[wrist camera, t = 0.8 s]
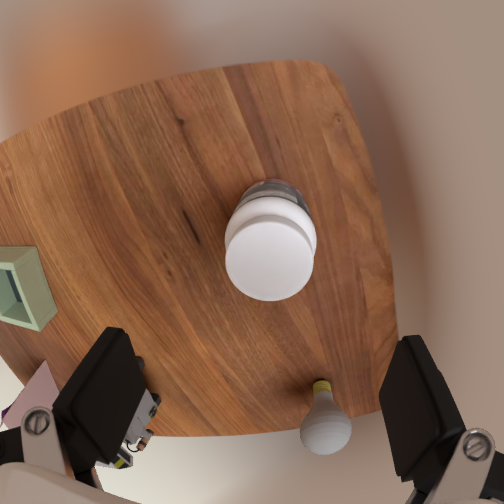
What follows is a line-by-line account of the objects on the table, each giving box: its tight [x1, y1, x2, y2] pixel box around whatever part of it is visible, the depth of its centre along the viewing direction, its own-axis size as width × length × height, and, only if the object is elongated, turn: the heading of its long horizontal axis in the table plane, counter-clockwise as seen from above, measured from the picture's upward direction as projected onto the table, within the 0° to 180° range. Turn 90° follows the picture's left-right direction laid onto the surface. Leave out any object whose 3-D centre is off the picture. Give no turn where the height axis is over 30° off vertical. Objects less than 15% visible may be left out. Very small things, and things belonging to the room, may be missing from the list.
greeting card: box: [0, 359, 60, 429], centre depth 34 cm, size 11×7×15 cm, turn 133°
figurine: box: [95, 357, 161, 469], centre depth 29 cm, size 9×12×15 cm
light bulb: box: [300, 380, 351, 455], centre depth 28 cm, size 5×5×10 cm
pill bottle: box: [225, 179, 316, 301], centre depth 20 cm, size 6×6×10 cm
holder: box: [0, 246, 58, 331], centre depth 29 cm, size 10×18×5 cm, turn 92°
